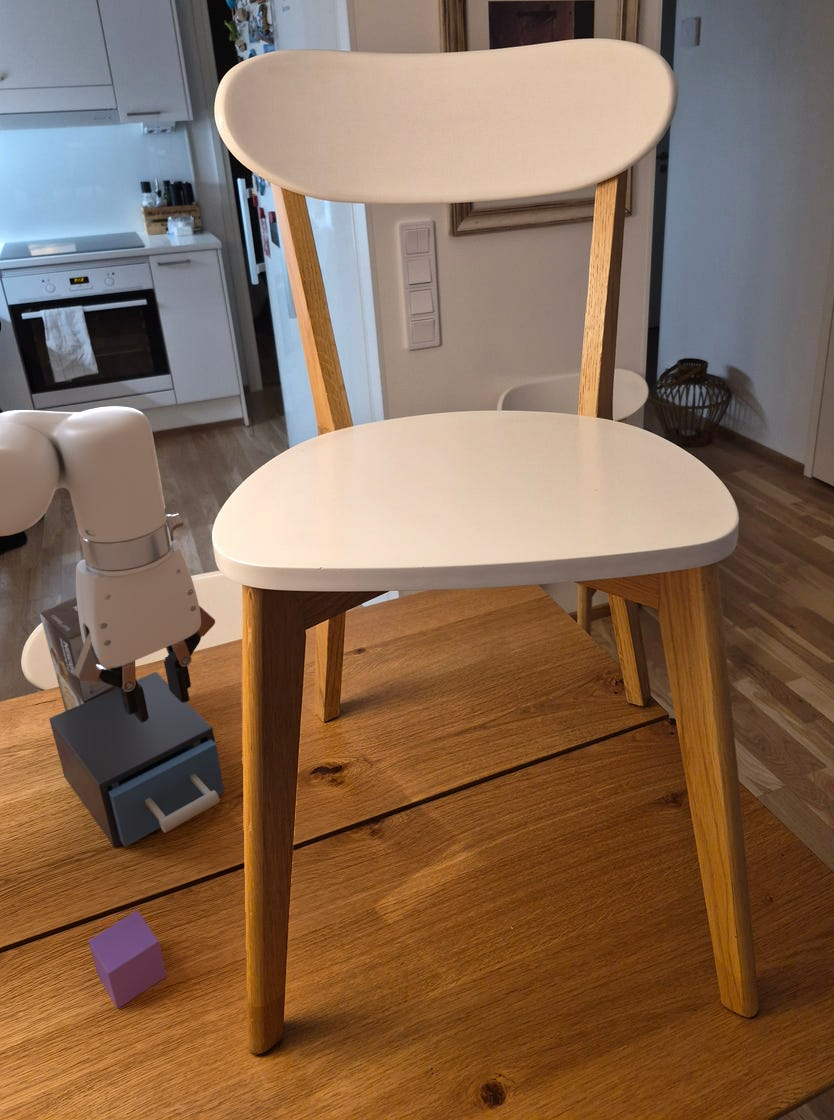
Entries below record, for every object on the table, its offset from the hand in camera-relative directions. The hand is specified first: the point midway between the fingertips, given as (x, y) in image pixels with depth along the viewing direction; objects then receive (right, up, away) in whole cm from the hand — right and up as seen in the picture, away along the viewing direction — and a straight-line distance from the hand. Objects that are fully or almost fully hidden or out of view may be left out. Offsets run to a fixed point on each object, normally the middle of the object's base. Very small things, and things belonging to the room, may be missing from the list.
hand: (159, 704), depth 85 cm
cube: (+1, -22, -8) cm, 24 cm away
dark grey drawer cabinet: (-7, -13, +14) cm, 20 cm away
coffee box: (-16, -9, +24) cm, 30 cm away
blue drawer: (-4, -13, +10) cm, 17 cm away
